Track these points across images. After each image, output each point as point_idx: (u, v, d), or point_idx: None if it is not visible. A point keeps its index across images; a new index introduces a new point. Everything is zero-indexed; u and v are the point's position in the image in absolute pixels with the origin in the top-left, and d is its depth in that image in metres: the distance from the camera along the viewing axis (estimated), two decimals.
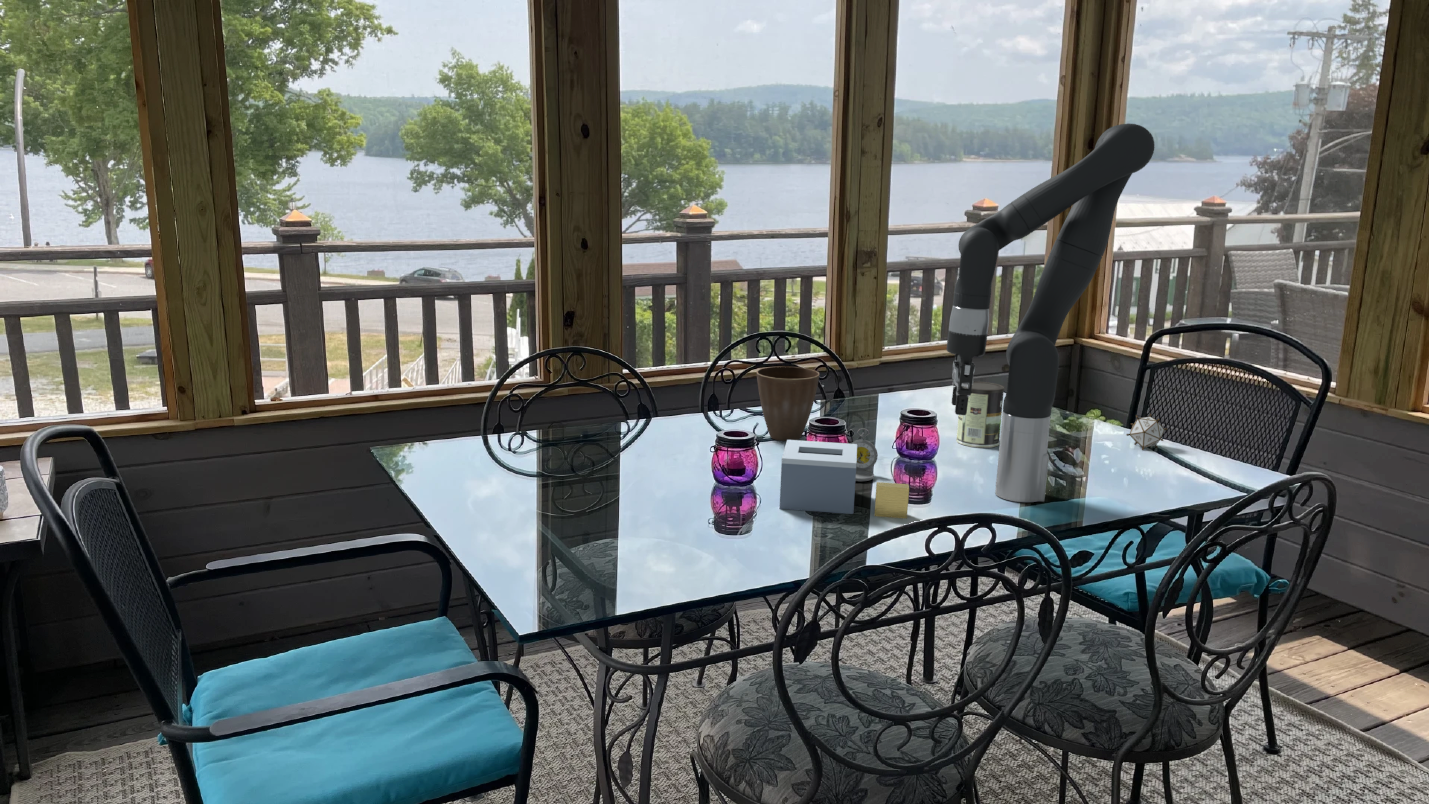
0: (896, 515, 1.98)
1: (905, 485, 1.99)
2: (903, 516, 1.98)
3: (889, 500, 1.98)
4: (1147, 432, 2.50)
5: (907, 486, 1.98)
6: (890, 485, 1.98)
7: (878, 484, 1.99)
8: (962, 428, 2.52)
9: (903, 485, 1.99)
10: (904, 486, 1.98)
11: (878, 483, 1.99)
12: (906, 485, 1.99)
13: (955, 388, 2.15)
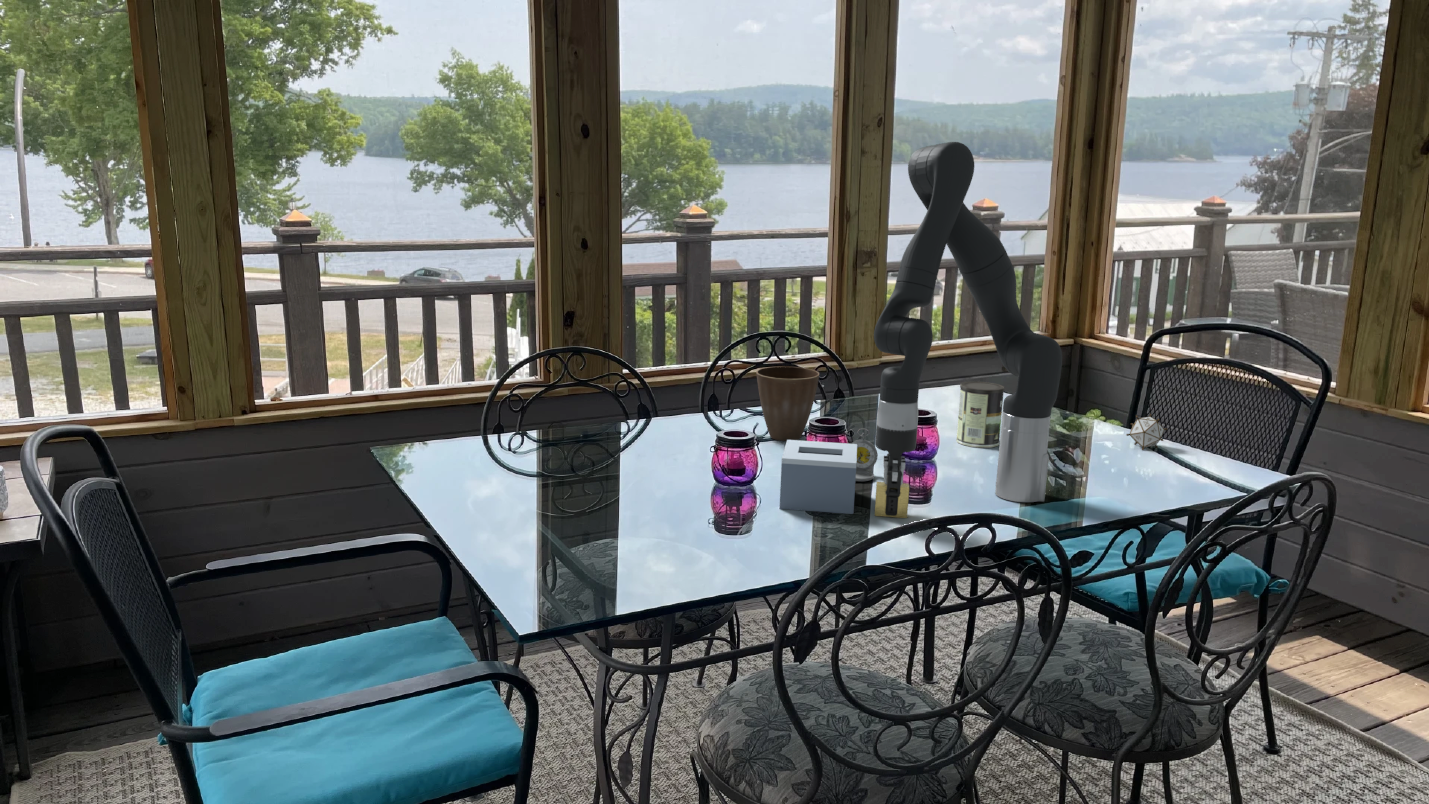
0: None
1: (905, 484, 1.99)
2: (903, 515, 1.98)
3: None
4: (1147, 432, 2.50)
5: (907, 485, 1.98)
6: None
7: (878, 483, 1.99)
8: (962, 428, 2.52)
9: (903, 484, 1.99)
10: (904, 485, 1.98)
11: (878, 482, 1.99)
12: (906, 484, 1.99)
13: None
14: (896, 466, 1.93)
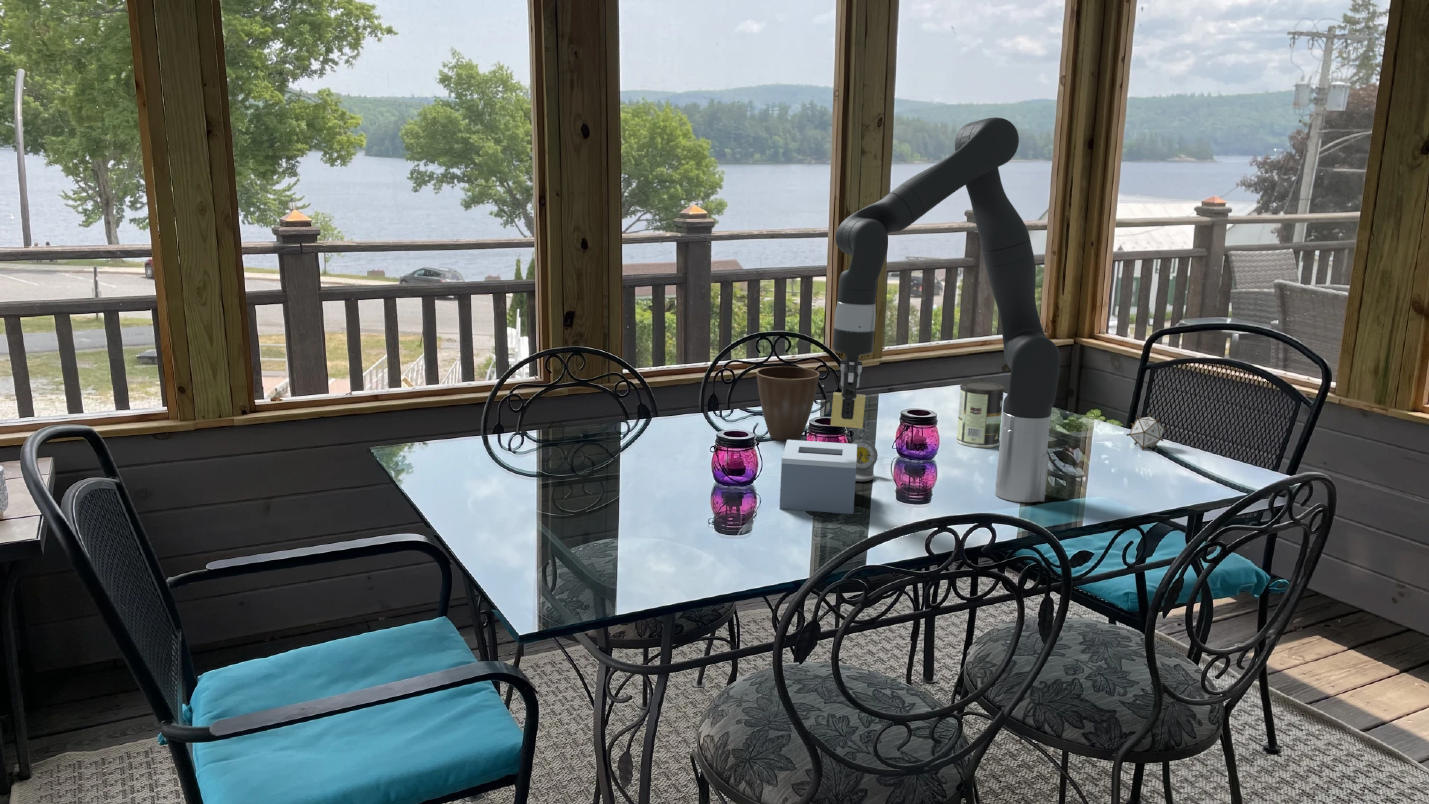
0: (852, 425, 1.99)
1: (862, 395, 1.99)
2: (859, 426, 1.99)
3: None
4: (1147, 432, 2.50)
5: (863, 396, 1.99)
6: None
7: (835, 393, 1.99)
8: (962, 428, 2.52)
9: (860, 395, 1.99)
10: (860, 396, 1.99)
11: (835, 393, 2.00)
12: (863, 395, 1.99)
13: None
14: (852, 367, 1.93)
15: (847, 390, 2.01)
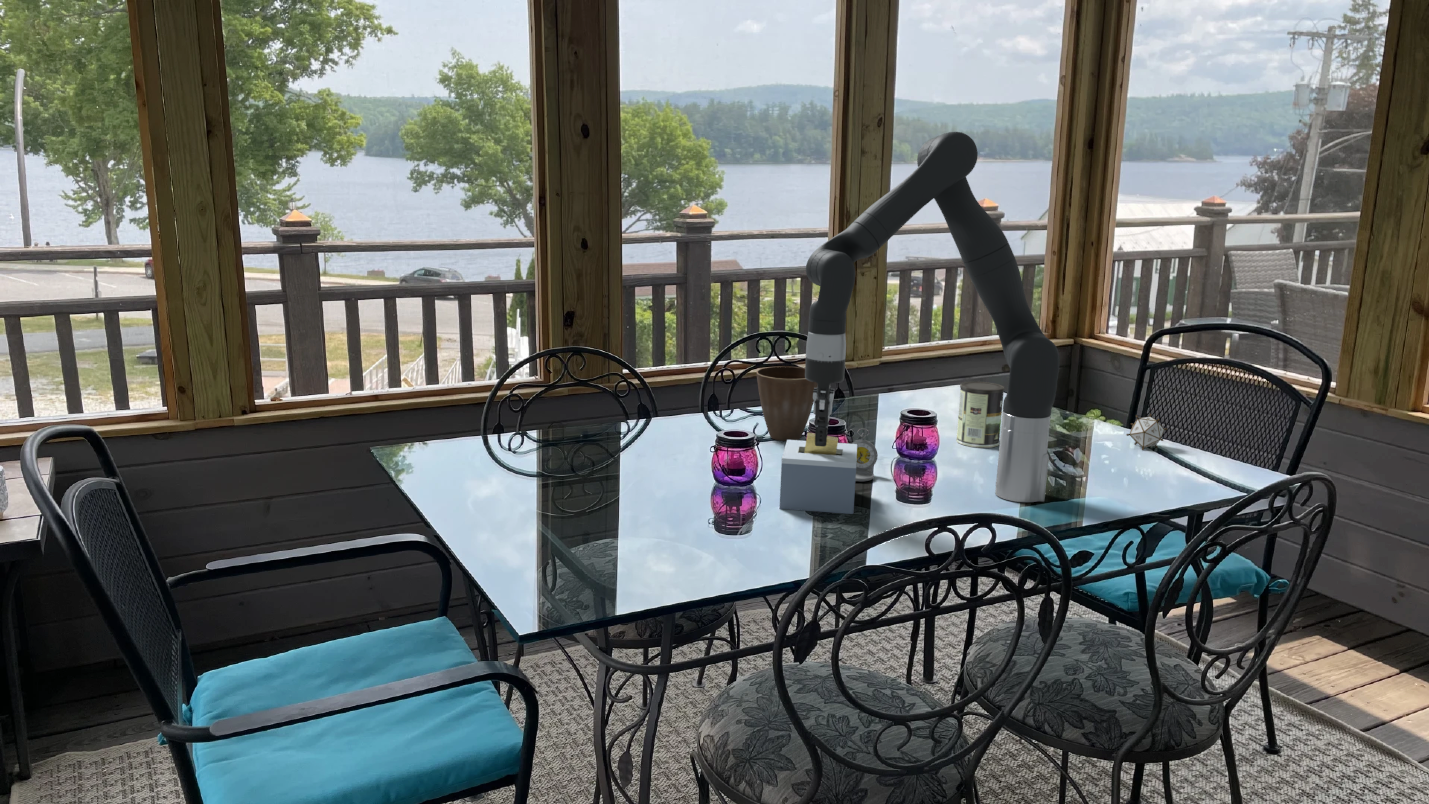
0: None
1: (835, 438, 2.05)
2: None
3: (818, 451, 2.04)
4: (1147, 432, 2.50)
5: (836, 439, 2.04)
6: None
7: (809, 434, 2.05)
8: (962, 428, 2.52)
9: (833, 438, 2.05)
10: (833, 439, 2.04)
11: (809, 433, 2.05)
12: (835, 438, 2.05)
13: None
14: (824, 395, 1.98)
15: None
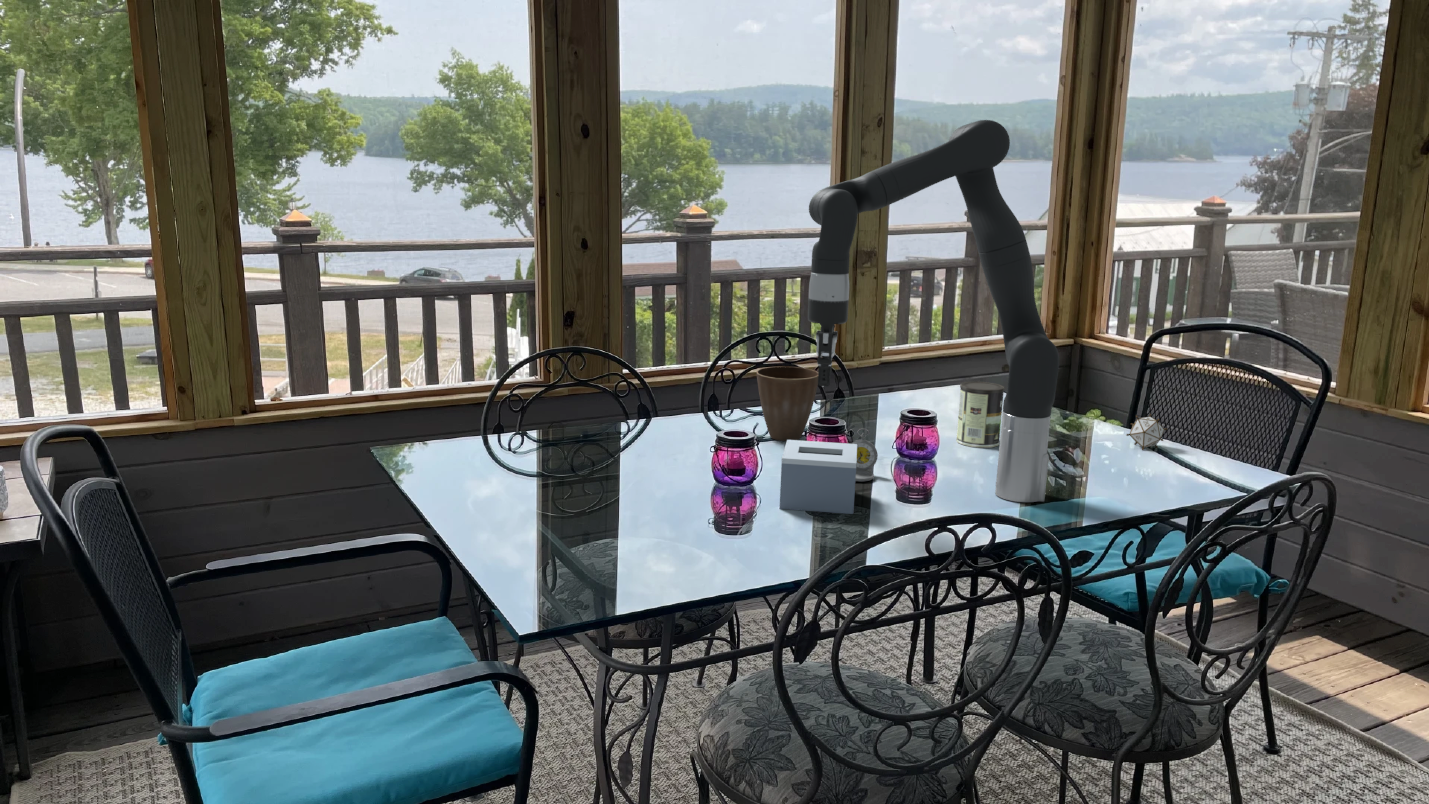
0: None
1: None
2: None
3: None
4: (1147, 432, 2.50)
5: None
6: None
7: None
8: (962, 428, 2.52)
9: None
10: None
11: None
12: None
13: None
14: (827, 332, 1.96)
15: None
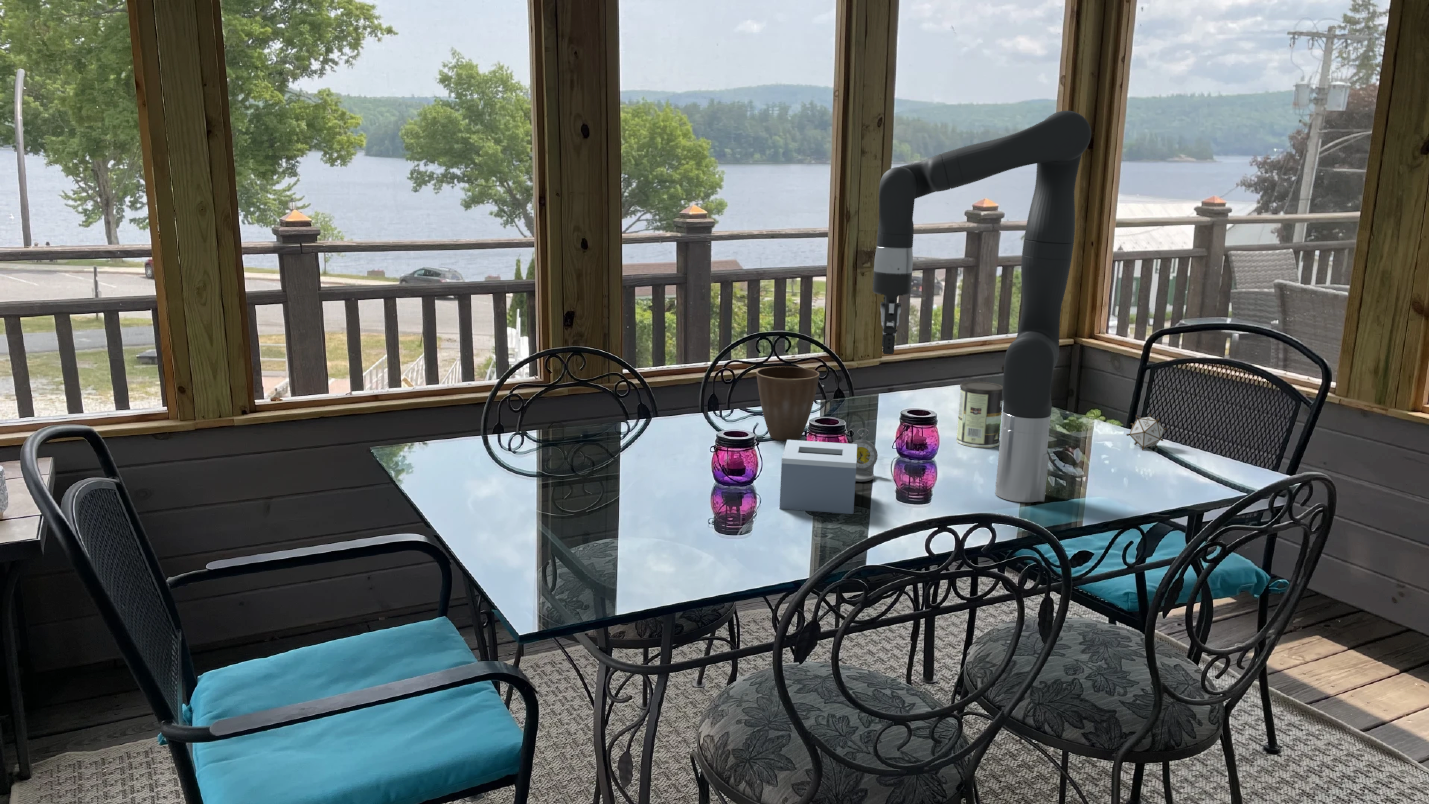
0: None
1: None
2: None
3: None
4: (1147, 432, 2.50)
5: None
6: None
7: None
8: (962, 428, 2.52)
9: None
10: None
11: None
12: None
13: None
14: None
15: None
